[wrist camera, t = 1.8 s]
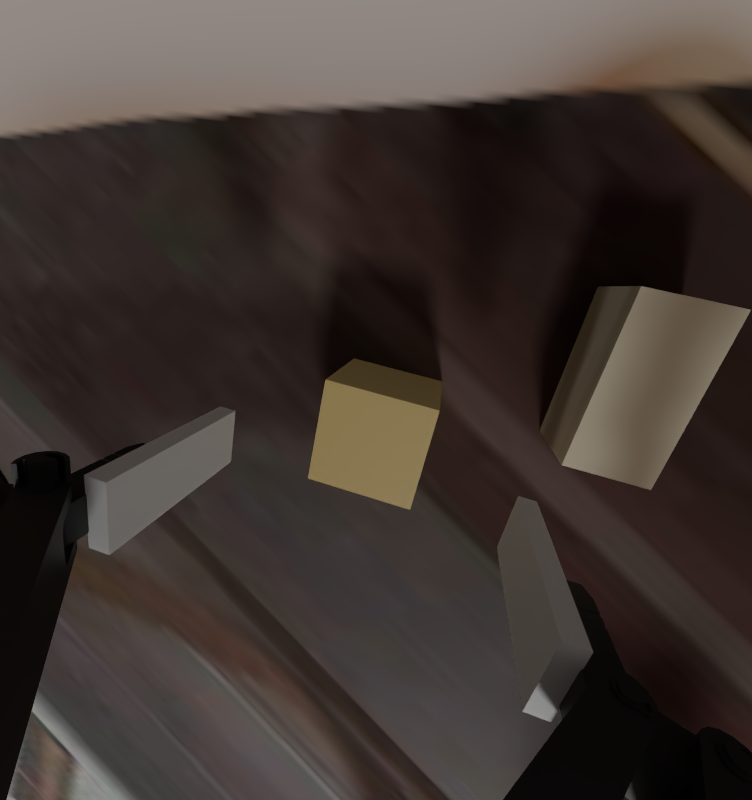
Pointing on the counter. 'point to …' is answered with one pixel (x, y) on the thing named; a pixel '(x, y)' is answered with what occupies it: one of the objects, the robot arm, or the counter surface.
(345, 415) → the ochre cube
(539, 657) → the robot arm
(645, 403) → the birch plinth
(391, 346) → the counter surface
